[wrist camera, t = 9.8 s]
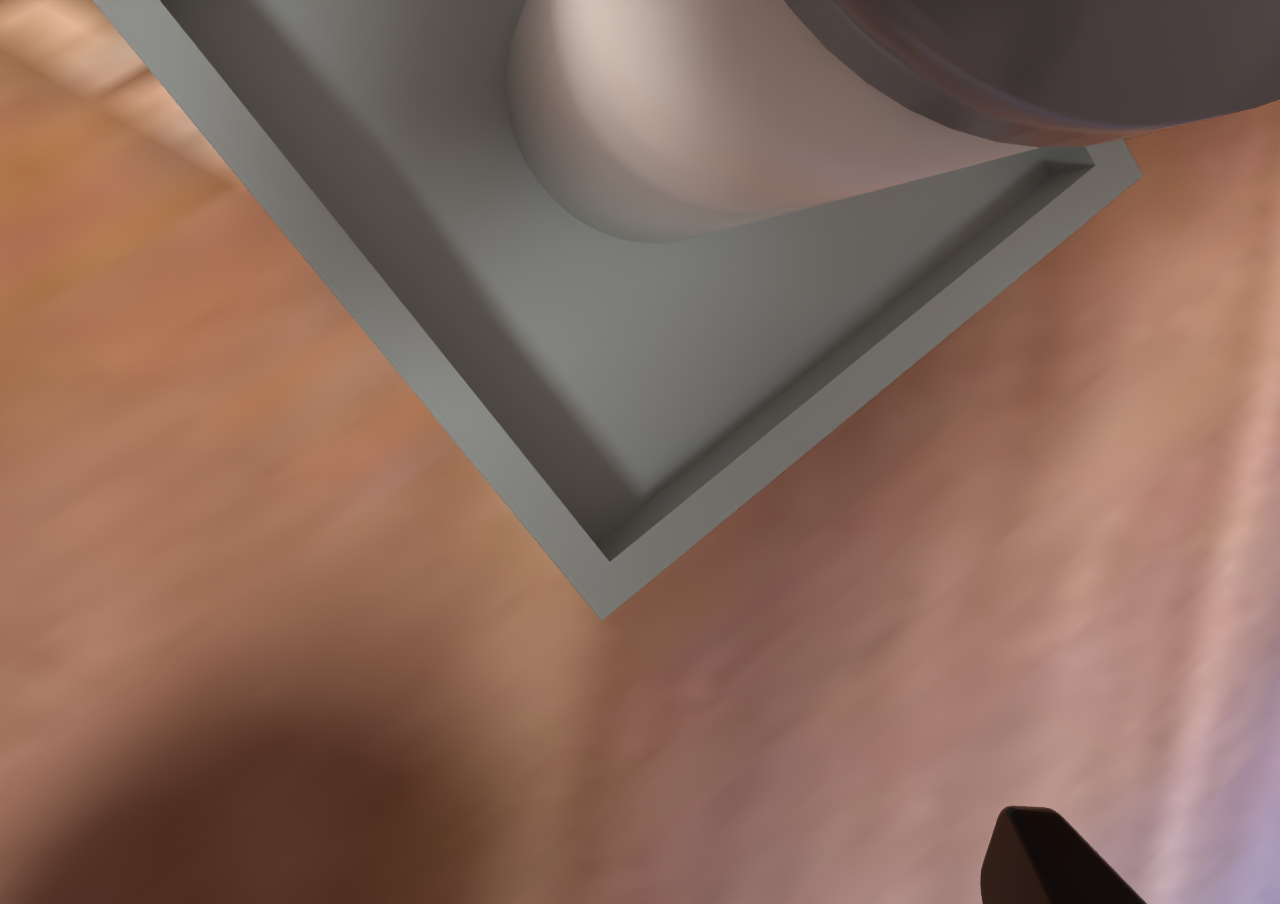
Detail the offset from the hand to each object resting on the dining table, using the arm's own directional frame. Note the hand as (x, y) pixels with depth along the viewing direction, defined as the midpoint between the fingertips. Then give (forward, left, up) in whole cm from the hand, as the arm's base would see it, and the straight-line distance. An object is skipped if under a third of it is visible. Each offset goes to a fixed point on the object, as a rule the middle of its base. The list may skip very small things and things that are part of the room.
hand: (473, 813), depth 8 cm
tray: (+9, +4, -12) cm, 15 cm away
